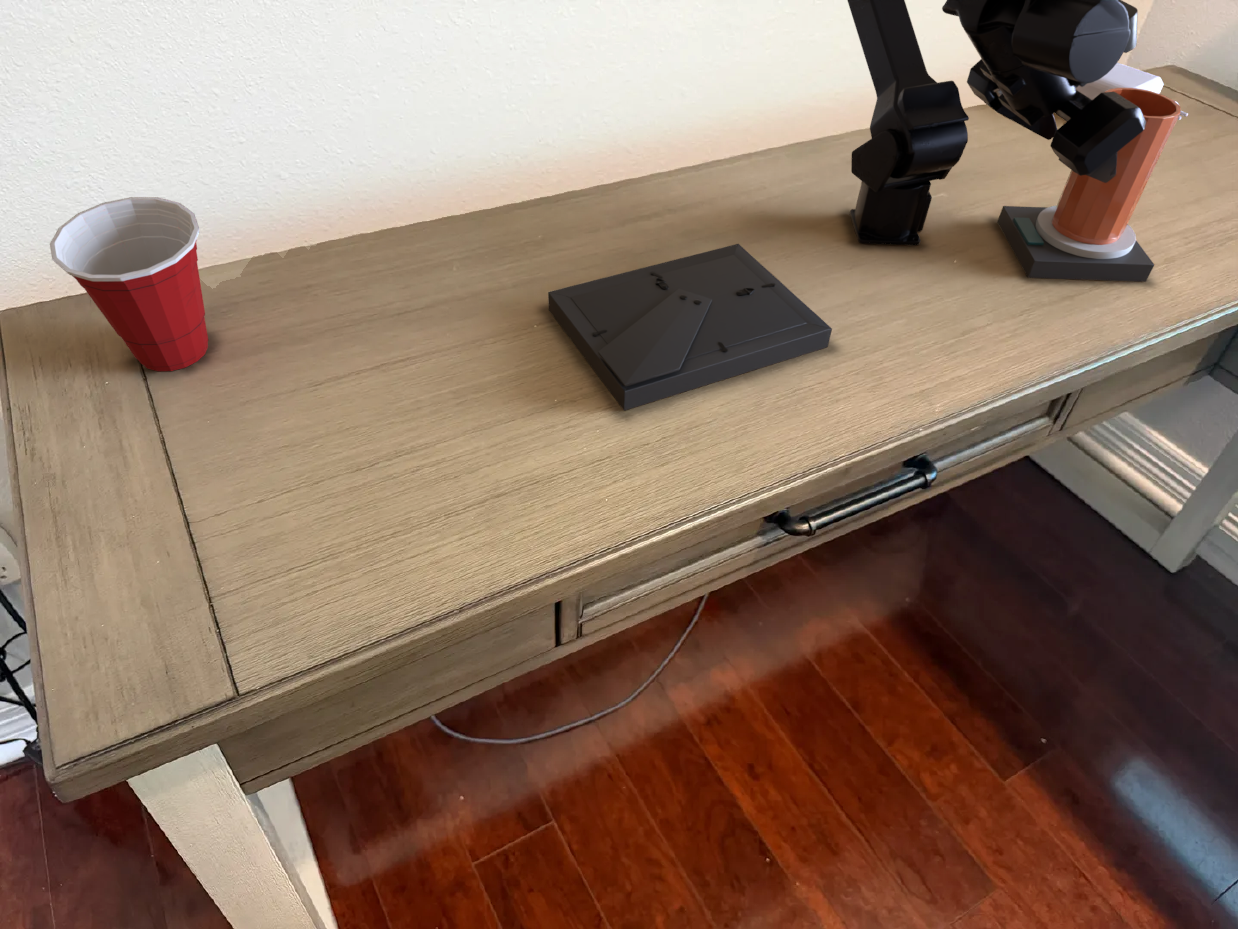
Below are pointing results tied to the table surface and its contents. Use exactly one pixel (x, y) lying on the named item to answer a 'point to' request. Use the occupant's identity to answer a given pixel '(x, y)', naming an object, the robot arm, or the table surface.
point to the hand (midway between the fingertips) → (1080, 156)
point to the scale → (1069, 249)
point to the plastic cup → (140, 275)
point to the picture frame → (685, 324)
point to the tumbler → (1117, 177)
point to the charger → (1124, 82)
